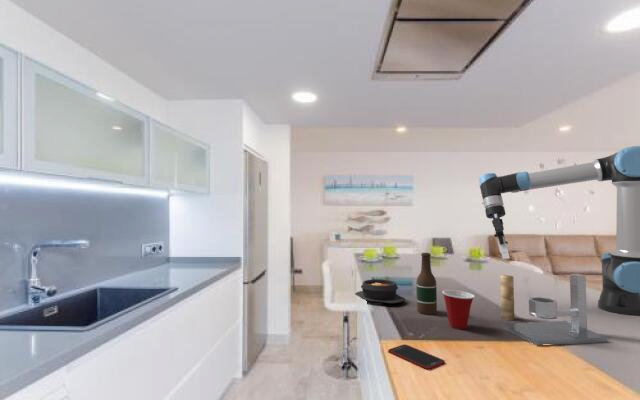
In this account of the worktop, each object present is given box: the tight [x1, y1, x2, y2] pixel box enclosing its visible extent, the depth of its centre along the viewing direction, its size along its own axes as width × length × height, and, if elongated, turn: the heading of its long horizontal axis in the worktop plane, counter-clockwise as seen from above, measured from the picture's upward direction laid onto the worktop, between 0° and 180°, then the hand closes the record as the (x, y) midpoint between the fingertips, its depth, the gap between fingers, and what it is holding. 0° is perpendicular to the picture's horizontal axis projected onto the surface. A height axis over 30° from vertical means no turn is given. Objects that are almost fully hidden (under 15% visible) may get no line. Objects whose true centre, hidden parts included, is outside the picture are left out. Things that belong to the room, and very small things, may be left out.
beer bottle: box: [416, 252, 438, 316], centre depth 141 cm, size 8×8×24 cm
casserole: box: [354, 278, 406, 304], centre depth 160 cm, size 25×19×8 cm
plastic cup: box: [442, 289, 475, 330], centre depth 124 cm, size 11×11×12 cm
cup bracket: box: [502, 273, 608, 346], centre depth 115 cm, size 24×16×20 cm, turn 97°
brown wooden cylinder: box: [500, 274, 515, 321], centre depth 132 cm, size 4×4×16 cm
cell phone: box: [387, 344, 446, 371], centre depth 98 cm, size 8×15×1 cm, turn 35°
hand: (505, 256), depth 143 cm, fingers open, 13 cm apart
